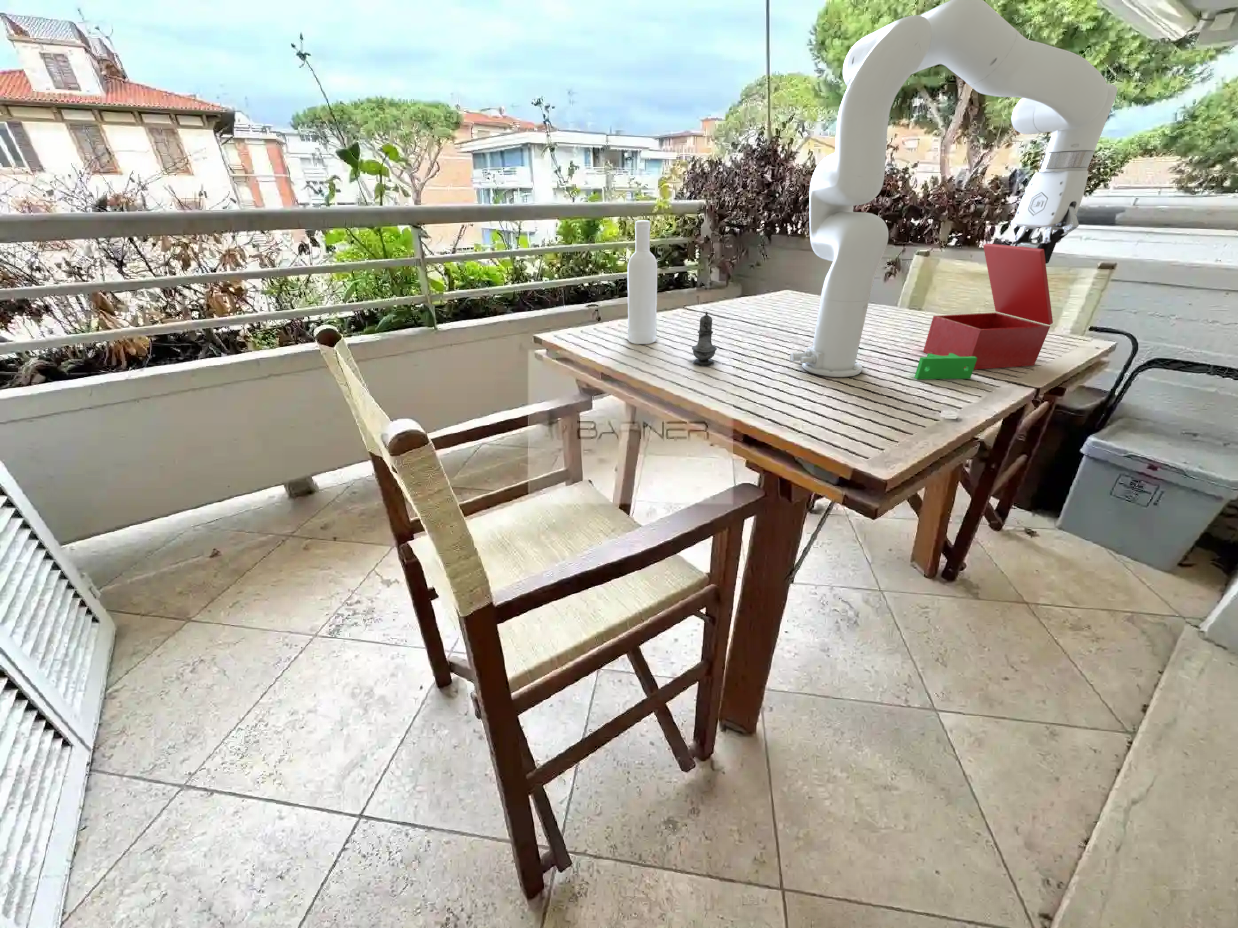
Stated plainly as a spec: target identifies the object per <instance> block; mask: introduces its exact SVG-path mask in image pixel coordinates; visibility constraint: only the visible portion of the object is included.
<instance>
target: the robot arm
mask: <svg viewBox="0 0 1238 928" xmlns="http://www.w3.org/2000/svg"><path fill="white" fill-rule="evenodd" d="M938 65H942V66H944V67H946V68H947V69H948V70H950V71H951V72H952V73H954V74H955V75H956V76H957V77H959V78H960V79H961V80H962V81H963V82H965V83H966V84H967V85H968V86H970V87H971V88H972V89H973V90H974V91H975V92H976V93H978V94H982V95H985V96H991V97H999V98H1020V99H1019V101H1018V102H1017V103H1016V104H1015V106H1014V107H1013V111H1012V113H1011V119H1010V121H1011V125H1012V127H1013V129H1014V130H1015V131H1016V132H1017V133H1020V134H1023V135H1037V134H1045V133H1051V136H1050V139H1049V142H1048V144H1047V148H1046V150H1045V153H1044V156H1043V158H1042V159H1041V160H1040V162H1039V169H1038V172H1035V173H1034V174H1033V176H1032V177H1031V179H1030V181H1029V183H1028V184H1027V187H1026V189H1025V191H1024V193H1023V196H1022V198H1021V200H1020V202H1019V205H1018V206H1017V209H1016V211H1015V212H1016V213H1015V215H1014V218H1013V219H1012V220H1011V221H1010V226H1011V228H1012V230H1013V233H1014V241H1015V244H1014V246H1017V245H1018V244H1019V243H1020V242H1030V243H1032V240H1030V239H1031V238H1032V237H1033V235H1034V233H1035V232H1036V230H1037V228H1045V229H1044V235H1043V242H1039V243H1040V245H1039V247H1038V249H1044V254H1045V263H1046V265H1047V264H1049V263H1050V260H1051V257H1052V255H1053V253H1054V250H1055V247H1056V246H1057V244H1059V243H1060V242H1062V239H1064V238H1065V237H1066V236H1067V235H1069V233H1071V232H1073V231H1075V230H1076V229H1077V228H1078V227H1080V223H1079V220H1078V217H1077V214H1078V211H1079V209H1080V206H1081V203H1082V200H1083V197H1084V194H1085V191H1086V186H1087V183H1088V179H1089V178H1088V177H1089V170H1088V169H1089V166H1090V164H1091V161H1092V159H1093V156H1094V153H1095V150H1096V148H1097V146H1098V143H1099V140H1100V138H1101V136H1102V134H1103V131H1104V129H1105V126H1106V123H1107V121H1108V118H1109V115H1110V112H1111V110H1112V107H1113V105H1114V102H1115V100H1116V96H1117V95H1118V86H1116V85H1115V84H1111V83H1107V80H1106V79H1105V78H1104V76H1103V75H1102V73H1101V72H1100V71H1099V70H1098V69H1097V68H1096V67H1095V66H1094V65H1093V64H1091V63H1090V61H1089V60H1087V59H1086V58H1084V57H1083V56H1081V55H1079V54H1077V53H1075V52H1072V51H1070V50H1066V49H1063V48H1059V47H1055V46H1053V45H1050V44H1047V43H1043V42H1039V41H1035V40H1030V39H1028V38H1026V37H1025V36H1024V35H1022V33H1020V32H1019V31H1018V30H1017V29H1016V28H1015V27H1013V25H1012V24H1010V23H1009V22H1008V21H1007V20H1006V19H1005V18H1004V17H1003V16H1001V15H1000V14H999V13H998V12H997V11H996V10H995V9H994V8H993V7H991V6H990V5H989V4H988V3H987V2H986V1H985V0H948V1H945V2H944V3H942V4H939V5H937V6H936V7H933V8H931V9H930V10H929V9H928V10H927V11H925V12H923V13H921V14H919V15H918V14H913V15H908V16H904V17H902V18H899V19H897V20H894V21H893V22H890V23H888V24H886V25H885V26H883V27H881V28H879V29H876V30H875V31H873V32H871V33H869V34H867V35H864V37H862V38H860V39H859V40H858V41H856V42H855V43H854V44H853V46H851V48H850V49H849V50H848V52H847V54H846V56H845V59H844V62H843V66H842V78H843V81H844V84H845V86H846V90H845V92H844V93H843V97H842V100H841V103H840V105H839V109H838V112H837V113H838V114H837V119H836V131H835V145H834V152H832V153H830V154H829V155H826V156H825V157H823V159H822V160H821V161H820V162H819V163H818V164H817V165H816V167H815V168H814V171H813V174H812V176H811V178H810V179H811V180H810V184H809V197H808V198H809V199H808V200H809V203H808V204H809V205H808V206H809V209H808V210H809V211H808V212H809V216H808V217H809V242H810V246H811V249H812V251H813V253H814V254H815V255H816V256H817V257H819V258H820V259H822V260H825V261H829V262H832V263H831V265H830V267H829V269H828V271H827V273H826V275H825V277H824V281H823V284H822V289H821V294H820V300H819V307H818V311H817V318H816V323H815V329H814V333H813V334H814V336H813V341H812V346H807V349H806V350H804V351H803V352H798V351H797V352H791V353H790V354H789V360H790V362H800V364H801V368H802V369H803V370H805V371H806V372H809V373H811V374H815V375H818V376H822V377H823V376H824V377H831V378H849V377H854V376H857V375H859V374H861V373H862V369H863V366H862V364H861V363H859V362H858V361H857V358H858V353H859V349H860V343H861V340H862V335H863V331H864V325H865V321H866V317H867V313H868V308H869V305H870V298H871V295H872V290H873V286H874V282H875V278H876V274H877V271H878V270H879V265H880V264H881V262H882V259H883V256H884V254H885V252H886V250H887V246H888V242H889V228H888V226H887V222H885V220H884V219H883V218H882V217H880V215H876V214H874V213H871V212H863V211H854V206H862V205H865V204H868V203H871V202H872V201H873V200H875V198H877V196H878V195H879V194H880V193H881V190H882V188H883V186H884V182H885V174H886V158H887V143H888V128H889V121H890V120H889V119H890V114H891V111H892V110H891V109H892V106H893V104H894V101H895V99H896V97H897V95H898V93H899V92H900V90H901V88H902V87H903V85H904V84H905V83H906V82H907V80H908V79H909V78H910V77H911V76H912V75H913V74H916V73H918V72H921V71H923V70H926V69H929V68H933V67H935V66H938Z"/></svg>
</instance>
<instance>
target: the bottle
mask: <svg viewBox="0 0 1238 928" xmlns="http://www.w3.org/2000/svg"><path fill="white" fill-rule="evenodd" d="M634 223H635V225H634V229H635V230H634V231H635V232H634V235H635V238H634V239H635V240H634V241H635V243H634V245H635V251H634V252H633V253H632V255H631V256H630V257H629V259H628V262H627V340H628V342H629V343H631V344H635V345H648V344H653V343H655V342H656V341H657V310H658V308H657V307H658V261H657V259H656V256H655V255H654V254H653V253H652V252H651V251H650V250H651V249H650V247H651V246H650V245H651V243H650V240H651V222H650V219H649V220H647V219H645V220H644V219H642V220H635V222H634Z"/></svg>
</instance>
